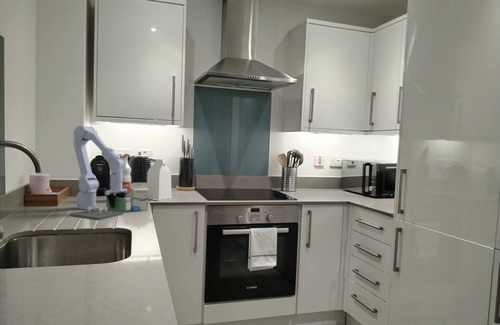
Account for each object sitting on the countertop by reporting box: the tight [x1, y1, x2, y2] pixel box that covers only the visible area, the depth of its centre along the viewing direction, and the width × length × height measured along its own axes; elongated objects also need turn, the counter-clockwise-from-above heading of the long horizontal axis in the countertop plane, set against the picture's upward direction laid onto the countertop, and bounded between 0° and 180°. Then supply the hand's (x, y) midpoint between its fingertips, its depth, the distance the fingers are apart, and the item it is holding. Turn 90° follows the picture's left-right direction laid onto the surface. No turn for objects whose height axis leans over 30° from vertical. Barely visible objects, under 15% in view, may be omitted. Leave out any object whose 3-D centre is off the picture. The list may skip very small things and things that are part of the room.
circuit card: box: [105, 197, 127, 213], centre depth 194 cm, size 12×2×7 cm, turn 68°
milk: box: [146, 158, 173, 200], centre depth 240 cm, size 12×12×26 cm
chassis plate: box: [69, 205, 124, 221], centre depth 181 cm, size 18×16×4 cm
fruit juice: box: [115, 155, 132, 202], centre depth 227 cm, size 9×9×28 cm
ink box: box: [130, 182, 150, 212], centre depth 198 cm, size 8×5×15 cm, turn 124°
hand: (116, 207), depth 194 cm, fingers open, 5 cm apart
